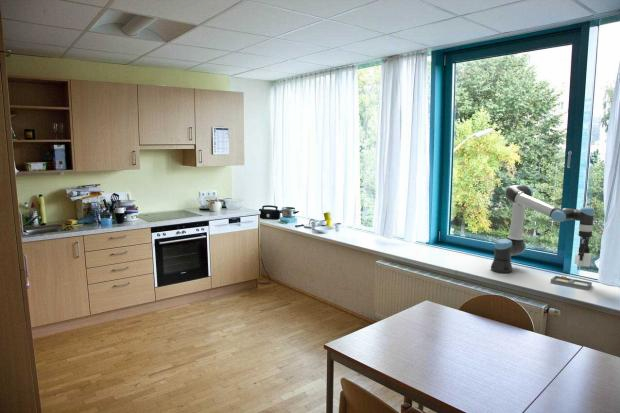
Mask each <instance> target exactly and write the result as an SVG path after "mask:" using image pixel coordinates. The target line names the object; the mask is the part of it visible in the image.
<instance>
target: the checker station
mask: <svg viewBox="0 0 620 413" xmlns="http://www.w3.org/2000/svg"><path fill="white" fill-rule="evenodd" d="M550 284H554V285H559V286H565V287H569V288H574V289H580V290H584V291H589V289H591V288H592V287H593V286H592V285H593V282H592V281H587V280H581V279H576V278H569V277H567V275H561V276H559V275H554V276H553V277H552V278H550Z"/></svg>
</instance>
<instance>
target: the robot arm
mask: <svg viewBox="0 0 620 413" xmlns="http://www.w3.org/2000/svg"><path fill="white" fill-rule="evenodd" d="M532 189H533V188H531V187H530V186H529V185H528V184H527V185H526V184H516V185H515V184H513V185H509V186H508V187H507V188H506V189H505V194H504V195H505V198H506V199H507V200H508V201H509V202H511V204H512V212H511V220H510V226H509V234H508V235H507V236H506V238H500V239H497V240H495V241H494V250H493V251H494V253H493V260H492V263H491V266H490V271H492V272H495V273H499V274H512V273H513V271H514V270H513V265H512V261H511V260H512V256H519V255H520V254H523V253H524V252H526V251H525V250H526V249H527V248H526V246H527V245H526V242H525V241H524V237H523V230H524V223H525V222H524V221H525V214H526V207H527V208H529V209H531V210H533V211H535V212H538V213H539V214H542V215H544V216H547V217H549V218H550V219H552V221H553V222H556V223H561V222H566V221H578V222H579V223H578V225H579V226H578V236H579V237H580V238H581V239H580V243H579V247H580V249H579V248H578V251H579V254H578V255H579V263H578V265H582V266H581V267H584V266H583V264H584V252H585V247H586V248H589V241H590V239H591V238H592V237H593V229H594V228H595V227H594V218H595V209H594V207H589V206H588V207H587V206H582V207H581V208H580V209H578V208H577V209H575V208H569V207H564V208H562V209H560V208H558V207H556V206H553V205H551V204H549V203H547V202H545V201H542V200H540V199H537V198H535V197H533V190H532ZM581 253H582V254H581ZM578 265H577V266H578Z"/></svg>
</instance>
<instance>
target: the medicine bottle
mask: <svg viewBox="0 0 620 413" xmlns="http://www.w3.org/2000/svg"><path fill="white" fill-rule="evenodd" d="M579 249H580V246H579V247H578V252H577V253H575V254H574V255H575V257H574V264H575V265H577V266H578V267H586V268H587V267H590V268H591V265H592V264H591V262H592V255H590V248H589V247H588V248H586V247H585V252H584V264H583V266H582V265H578V263H579V255H578V254H579ZM581 254H582V253H581Z"/></svg>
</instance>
